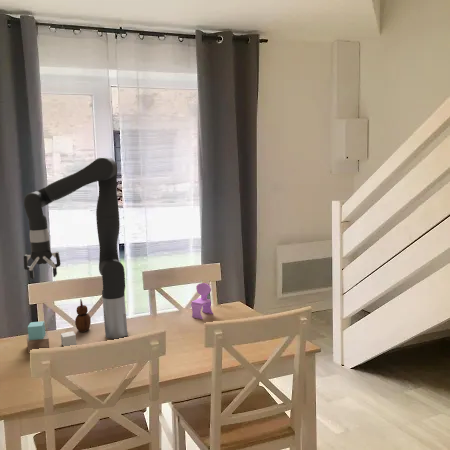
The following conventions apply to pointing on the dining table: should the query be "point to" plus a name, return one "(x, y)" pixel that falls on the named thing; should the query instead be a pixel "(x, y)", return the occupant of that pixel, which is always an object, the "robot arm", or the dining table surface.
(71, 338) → the grey cube
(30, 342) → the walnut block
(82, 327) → the wooden figurine
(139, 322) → the dining table surface
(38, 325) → the teal cube
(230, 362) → the dining table surface
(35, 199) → the robot arm
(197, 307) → the toy chair
